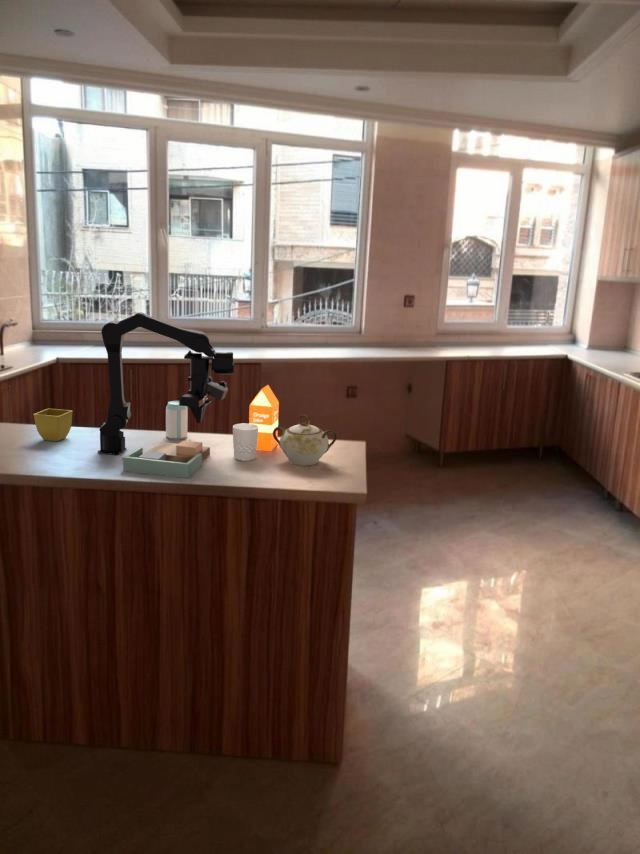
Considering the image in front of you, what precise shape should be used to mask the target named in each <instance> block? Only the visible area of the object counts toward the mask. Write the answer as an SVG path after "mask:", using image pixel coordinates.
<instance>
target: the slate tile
mask: <svg viewBox="0 0 640 854" xmlns="http://www.w3.org/2000/svg"><path fill="white" fill-rule="evenodd" d="M138 458H145V459H154V460H163V461H166V453H161V452H149V451H148V450H147V451H144V452H143V454H142V455H141V456H139V457H138Z"/></svg>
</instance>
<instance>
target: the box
mask: <svg viewBox="0 0 640 854" xmlns="http://www.w3.org/2000/svg"><path fill="white" fill-rule="evenodd" d="M143 450H144V447H143V446H141V447H140V446H139V447H137V448H136V449H134V450H132V451H130V452H129V453H127V454H126V455H124V456H123V457H122V470H123V472H131V473H139V474H140V473H142V474H147V475H149V474H150V475H158V476H166V477H175V478H182V479H189V478H190V477H192V476H193V475H194V474H195V473H196V472H198V470H200V469H201V468H202V467H203V463H202V462H203V461H202V454H197V455H196V456H195V457H193V458H192V459H191V460H190V461H188V462H187V463H181V462H172V461H163V460H154V459H145V458H138V457H139V456H141V455H142V454H143V453H144V452H143Z"/></svg>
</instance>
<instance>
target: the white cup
mask: <svg viewBox="0 0 640 854" xmlns="http://www.w3.org/2000/svg"><path fill="white" fill-rule="evenodd" d="M258 429H259V427H258V426H257V425H254V424H249V422H248V423H245V422H244V423H243V422H242V423H236V424H233V425H232V444H233V448H232V449H233V457H234V459H235V460H237V461H243V462H246V461H247V462H248V461H253V460H255V459H256V458H257V451H258V450H257V443H258Z"/></svg>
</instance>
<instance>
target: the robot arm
mask: <svg viewBox="0 0 640 854" xmlns="http://www.w3.org/2000/svg"><path fill="white" fill-rule="evenodd" d="M138 328H142V329H145V330H147V331H151V332H152V333H155V334H158V335H161V336H164V337H167V338H168V339H169V338H170V339H172V340H175V341H177V342H178V343H180V344H182V345H183V346H185V347H186V348H188V349H189V350H188V352H187V353H186V354H184V356H183V359H185V360H190V362H189V363H190V365H189V366H190V367H189V369H190V370H189V373H190V374H189V375H190V376H187V381H188V382H190V383H189V385H190V386H189V389H188V390H187V393H186V394H183V395H182V396H180V397H179V400H178V401H179V405H180V406H187V407H188V408H189V409H190V411H191V413H192V415H193V417H194V420H195V422H196V424H202V422H203V419H204V415H205V412H206V408H207V406H208V405H209V404H210V403H211V402H212V401H213V399H209V397H210V396H211V397H213V398H215V399H216V400H218V401H222V400H224V399H225V398H226V395H227V393H229V387H228V383H227V382H226V381H224V380H222V381H220V382H219V383H218V382H214V381H213V377H212V376H210V360H211V371H212V372H214V374H215V375H235V374H234V372H235V371H234V368H235V365H234V364H235V363H234V352H233V351H228V352H221V351H220V352H218V351H216V350H215V348H213V347H214V346H212V345H211V341H210V336H209V335H208V333H206V332H205V331H201V330H196V329H190V328H183V327H179V326H177V325H174V324H172V323H169V322H166V321H164V320H162V319H158V318H155V317H153V316H150V315H148V314H146V313H144V312H141V311H140V312H136V313H135V314H134V315H131V316H129V317H126V318H124V319H122V320H120V321H117V320H110V321H109V322H107V323H105V324H104V326H102V328H101V332H100V333H101V337H102V341H103V345H104V347H105V348H104V349H106V353H107V368H108V370H107V371H108V384H109V387H108V388H109V403H108V404H109V405H108V410H107V414H106V415H107V416H106V420H105V421H104V422H103V423H102V425H101V426H100V427H99V448H100V449H99V450H97V453H98V454H107V455H113V456H115V455H116V456H118V455H119V454H121V453H123V452H124V451H126V450H127V447H126V437H125V436H124V431H122V430H123V428H125V427H126V426H127V423H128V421H129V420H130V418H131V417H132V412H131V403H132V402H127V401H126V400H125V399H126V398H125V394H124V376H123V375H124V372H123V354H122V352H123V351H122V350H123V345H124V343H125V342H124V340H125V335H126V334H128V333H130V332H132V331H134V330H136V329H138ZM191 350H192V351H194V352H192V351H191ZM203 354H204V355H203ZM208 396H209V397H208Z"/></svg>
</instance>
